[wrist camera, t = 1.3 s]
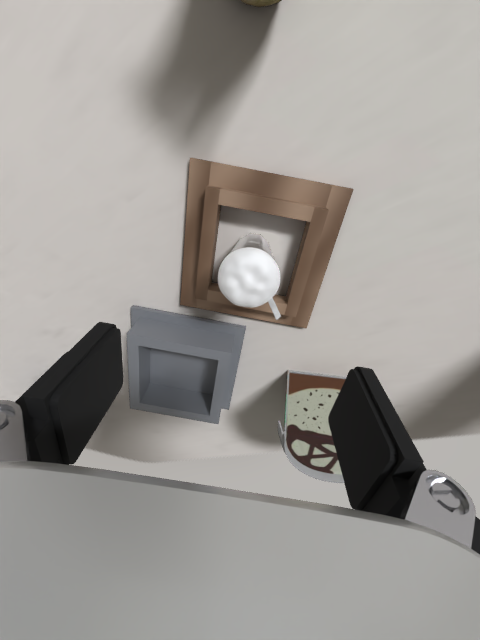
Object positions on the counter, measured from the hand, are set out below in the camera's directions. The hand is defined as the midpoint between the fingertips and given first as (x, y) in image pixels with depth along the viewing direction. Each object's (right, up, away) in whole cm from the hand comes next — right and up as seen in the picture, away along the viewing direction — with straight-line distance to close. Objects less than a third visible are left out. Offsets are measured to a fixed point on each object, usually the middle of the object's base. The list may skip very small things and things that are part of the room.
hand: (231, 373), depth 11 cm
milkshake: (+2, +9, +16) cm, 19 cm away
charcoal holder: (-7, -3, +23) cm, 24 cm away
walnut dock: (+2, +9, +16) cm, 18 cm away
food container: (+11, -7, +24) cm, 27 cm away
